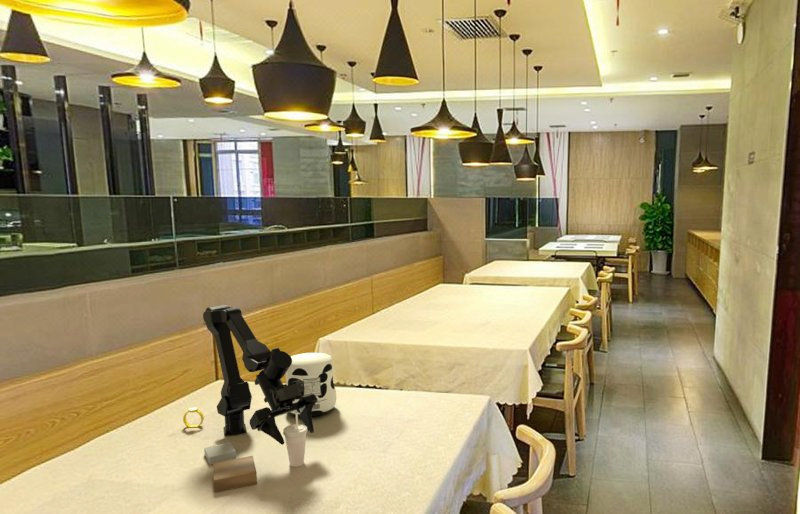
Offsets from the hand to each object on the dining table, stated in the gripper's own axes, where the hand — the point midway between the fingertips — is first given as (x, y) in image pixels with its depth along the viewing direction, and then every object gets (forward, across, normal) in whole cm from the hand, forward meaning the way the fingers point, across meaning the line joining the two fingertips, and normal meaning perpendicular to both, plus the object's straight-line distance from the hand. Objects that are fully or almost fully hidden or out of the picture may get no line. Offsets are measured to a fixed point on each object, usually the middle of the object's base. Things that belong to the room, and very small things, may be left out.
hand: (298, 438), depth 144 cm
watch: (-28, -7, +39) cm, 49 cm away
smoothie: (+4, 0, +6) cm, 8 cm away
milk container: (-16, +26, +27) cm, 40 cm away
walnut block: (+1, -15, +10) cm, 18 cm away
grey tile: (-10, -12, +20) cm, 25 cm away
